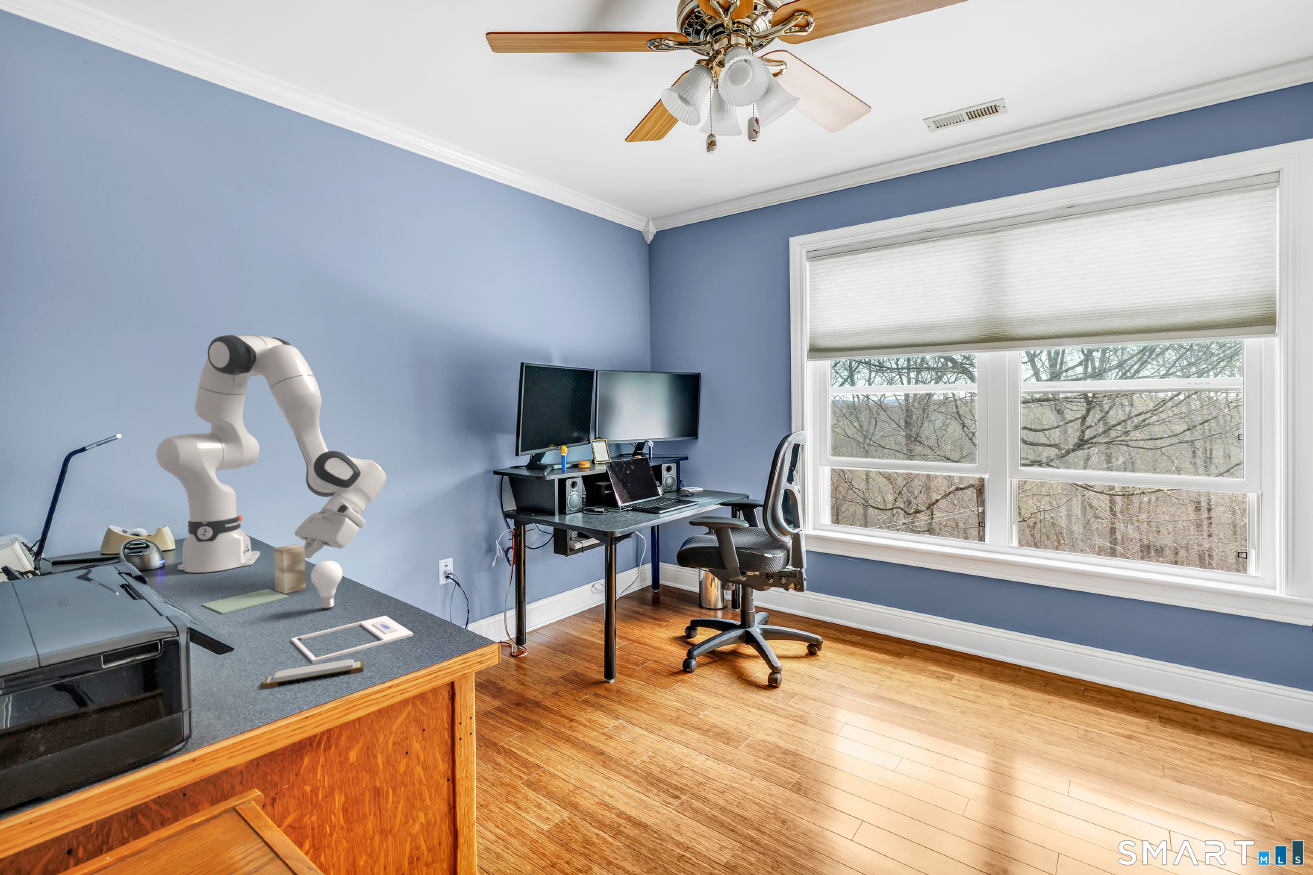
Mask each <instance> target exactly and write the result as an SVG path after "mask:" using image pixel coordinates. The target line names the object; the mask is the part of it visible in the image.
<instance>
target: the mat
mask: <svg viewBox="0 0 1313 875" xmlns="http://www.w3.org/2000/svg"><path fill="white" fill-rule="evenodd" d="M287 598H290V595H289V594H286V595H285V594H282V593H278V592H275V590H272V589H270V588H269V589H268V588H265V589H261V590H260V589H259V590H256V591H253V592H248V593H242V594H239V595H236V596H231V597H226V598H222V599H218V600H214V601H208V602H205V603H202V604H201V606H203V607H205V608H207V609H209V610H212V611H215V612H217V613H219V614H227V613H231V612H235V611H236V612H237V611H240V610H243V609H247V608H252V607H256V606H260V605H263V604H267V603H271V602H276V601H279V600H283V599H287Z"/></svg>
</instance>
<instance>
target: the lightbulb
mask: <svg viewBox="0 0 1313 875" xmlns="http://www.w3.org/2000/svg"><path fill="white" fill-rule="evenodd" d="M342 578H343V569H342V567H341V565H340V564H339V563H338V562H336V561H333V560H322V561H320V562H317V564H315V565H314V567H313V568H312V570H311V572H310V580H311V583H312V584H313V585H314V586H315V588H316V589H317V591H318V594H319V596H320V600H321V601H320V602H321V604H320V606H321V608H322V609H326V610H329V609H332V607H334V606H335V594H336V590H337V587H338V585H339V584H340V582H341V580H342Z"/></svg>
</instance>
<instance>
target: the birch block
mask: <svg viewBox="0 0 1313 875" xmlns="http://www.w3.org/2000/svg"><path fill="white" fill-rule="evenodd" d="M272 550H273V566H274V567H273V570H274V574H273V575H274V591H275V592H279V593H282V594H285V595H290V594H294V593H296V592H297V593H298V592H302V591H305V589H306V590H307V580H306V579H307V578H306V558H305V547H304V545H303V546H302V545H300V544H290V545H289V544H288V545H283V546H277V547H273V549H272ZM301 590H302V591H301ZM293 592H294V593H293ZM289 593H290V594H289Z"/></svg>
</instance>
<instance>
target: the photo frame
mask: <svg viewBox="0 0 1313 875" xmlns="http://www.w3.org/2000/svg"><path fill="white" fill-rule="evenodd" d="M358 626H361V627H363V628H364V629H366V630H367V631H368V632H370V633H371V634H373V635H374V636H376V637H377V638H378V639H379V641H375V642H374V641H373V642H370V643H367V644H363V645H359V646H355V647H352V648H348V649H345V650H341V651H338V652H337V651H336V652H333V653H331V654H329V653H328V654H326V655H322V656H319V657H316V656H315V655H314V654H313V653H312V652H311V651H310V650H308V648H307V647H306V646H304V644H303V643H301V642H300V641H299V640H305V639H309V638H314V637H317V636H321V635H326V634H330V633H334V632H338V631H342V630H346V629H350V628H354V627H358ZM413 636H414V633H413V632H412V631H411V630H409V629H408V628H406V627H404V626H403V625H401V624H400V623H398V622H397V621H395V620H393V619H391V618H390V617H389V616H387V615H383V616H382V615H381V616H378V617H375V618H371V619H366V620H361V621H358V622H353V623H350V624H345V625H342V626H337V627H333V628H329V629H325V630H321V631H316V632H313V633H309V634H304V635H299V636H297V637H292V638H291V643H293V644H294V645H295V646H296V647H297V648H298V649H299V650H300V651H301V652H302V653H303V654H304V655H305V656H306V657H307V658H308V660H310V661H311V663H313V664H315V663H317V662H321V661H322V662H323V661H326V660H328V659H333V658H336V657H340V656H344V655H347V654H352V653H354V652H355V653H356V652H358V651H361V650H365V649H369V648H372V647H373V648H374V647H378V646H381V645H385V644H388V643H391V642H395V641H399V640H402V639H406V638H409V637H413Z"/></svg>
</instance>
